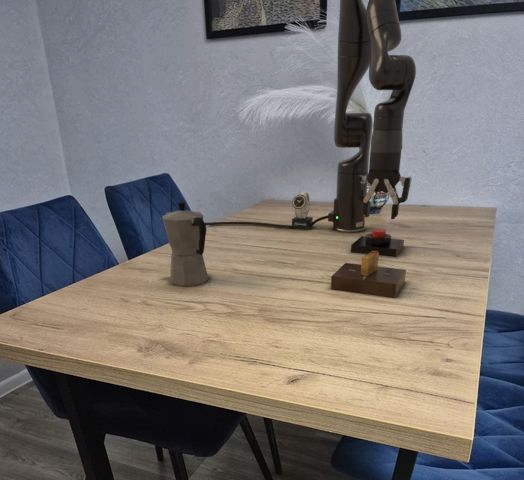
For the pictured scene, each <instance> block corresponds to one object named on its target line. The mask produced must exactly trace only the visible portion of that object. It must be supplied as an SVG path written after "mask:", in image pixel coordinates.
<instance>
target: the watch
mask: <svg viewBox="0 0 524 480" xmlns="http://www.w3.org/2000/svg"><path fill="white" fill-rule="evenodd" d="M309 194H310V193H308V192H301V191H300V192H298V193H297V194H296V195H295V196H294V197H293V198H292V200H291V205H292V208H293V209H292V210H293V212H294V215H295V216H294V217H293V218H292V219H291V225H292V226H294V227H295V228H291V229H292V230H305V231H308V230H310V229H312V228H313V226H311V227H310V224H311V223H312V222H313V221H314V220H313V219H314V218H313V216H308V215H309V212H310V204H311V203H310V195H309Z"/></svg>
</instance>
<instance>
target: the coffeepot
mask: <svg viewBox="0 0 524 480" xmlns="http://www.w3.org/2000/svg"><path fill="white" fill-rule="evenodd" d="M177 206H178V209H179V210H175V211H170V212H166V213H165V214H164V215H161V217H162V221H163V225H164V228H165V232H166V237H167V240H168V243H169V247H170V248H171V254H170V257H171V258H170V274H169V275H170V277H169V278H170V282H171V284H173V285H175V286H179V287H192V286H199V285H201V284H204V283H206V282H207V281H208V280H209V275H208V270H207V267H206V263H205V259H204V256H203V255H204V253H205V245H206V238H207V237H206V236H207V225H205V223H206V222H205V221H204V214H203V213H201V212H199V211H194V210H188V209H185V207H186V202H184V201H179V202H177Z"/></svg>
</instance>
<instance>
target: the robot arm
mask: <svg viewBox="0 0 524 480" xmlns="http://www.w3.org/2000/svg"><path fill="white" fill-rule="evenodd" d="M338 17H339V18H338V35H337V72H336V73H337V74H336V75H337V76H336V77H337V78H336V79H337V81H336V82H337V83H336V100H335V112H334V122H333V123H334V126H333V142H334V145H335V147H337V148H340V149H356V148H358V151H357V152H356V153H355V154H354V155H352V156H351V157H348V158H346V159H344V160H343V159H342V160H341V161H339V162H338V163H337V169H336V172H337V173H336V174H337V175H336V195H335V197H336V198H334V199H333V210H332V211H330V212H329V213H328V214H327V215H323V216H321V217H318V218H316V219H314V220H313V222H312V223H311V224H310V227H311V226H312V227H313V226H314V225H315V224H317V223H318V222H320V221H323V220H326V219H327V222H332V230H333V231H337V232H341V233H358V232H363V231H364V230H365V227H366V225H365V224H366V218H369V217H370V214H371V204H372V203H371V199H372V198H373V196H374V194H375V193H385V194H386V193H387V194H388V195H389V197H390V199H391V200H392V205H391V213H390V220H395V219H396V218H397V217H398V216H399V210H400V204H403V203H405V202H407V200H408V198H409V193H410V189H411V184H412V179H413V178H412V177H411V176H402V175H401V173H400V169H401V160H402V159H401V157H402V150H403V127H404V117H405V110H406V108H407V107H406V106H407V104H408V101H409V98H410V95H411V91H412V89H413V86H414V83H415V80H416V75H417V66H416V62H415V60H414V58H413V57H412V56H410V55H408V54H396V55H395V54H389V53H390V52H391V51H394V50H395V49H396V48H397V47H399V45H400V44H401V42H402V29H401V25H400V19H399V13H398V9H397V2H396V0H368V2H367V6H365V3H364V1H363V0H339V15H338ZM367 71H368V80H369V82H370V84H371V86H372V88H374V90H376V91H391V94H390V96H389V97H388V99H387V100H385V101H382V102H379V103H377V104H376V105H375V107H374V111H373V116H372V114H371V113H370V112H347V109H348V106H349V103H350V100H351V98H352V96H353V95H354V92H355V90H356V89H357V86H359V84H360V82H361V81H362V79H363V78H364V77H365V75H366V73H367ZM399 182H400V183H401V186H402V191H401V196H399V194H398V190H397V185H398V184H399ZM368 184H369V186H370V187H369V188H368ZM204 223H205V225H206V226H220V225H222V226H223V225H248V226H249V225H250V226H251V225H253V226H263V227H265V226H266V227H274V228H282V229H292V228H295V227H294V226H292V224H279V223H269V222H258V221H213V222H204Z"/></svg>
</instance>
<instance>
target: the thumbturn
mask: <svg viewBox="0 0 524 480" xmlns="http://www.w3.org/2000/svg"><path fill="white" fill-rule="evenodd" d="M379 257H380V256H379V252H378V251H371V253H369V254H364V255H363V256H362V257H361V263H360V265H361V275H364V276H368V275H370V274H372V273H373V272H375V271H377V270H378V267H379Z"/></svg>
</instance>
